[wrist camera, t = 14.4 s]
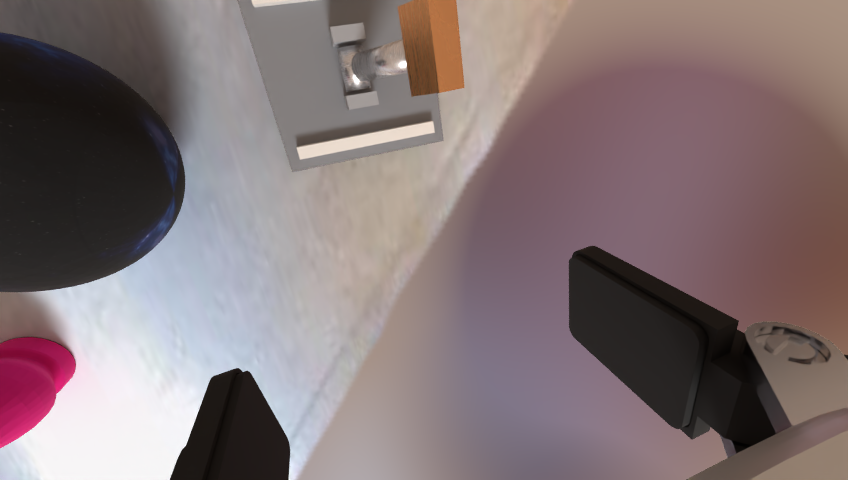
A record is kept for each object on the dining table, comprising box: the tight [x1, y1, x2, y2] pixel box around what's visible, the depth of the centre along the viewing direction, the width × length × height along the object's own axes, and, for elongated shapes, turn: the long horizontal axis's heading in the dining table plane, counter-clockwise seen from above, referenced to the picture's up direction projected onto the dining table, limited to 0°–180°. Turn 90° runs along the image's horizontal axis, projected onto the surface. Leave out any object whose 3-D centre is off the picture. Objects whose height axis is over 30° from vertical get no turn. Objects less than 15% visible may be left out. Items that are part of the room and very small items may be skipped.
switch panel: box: [237, 0, 444, 172], centre depth 28 cm, size 14×14×6 cm
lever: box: [337, 0, 464, 97], centre depth 24 cm, size 5×3×10 cm
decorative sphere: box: [0, 33, 185, 292], centre depth 21 cm, size 15×15×15 cm
